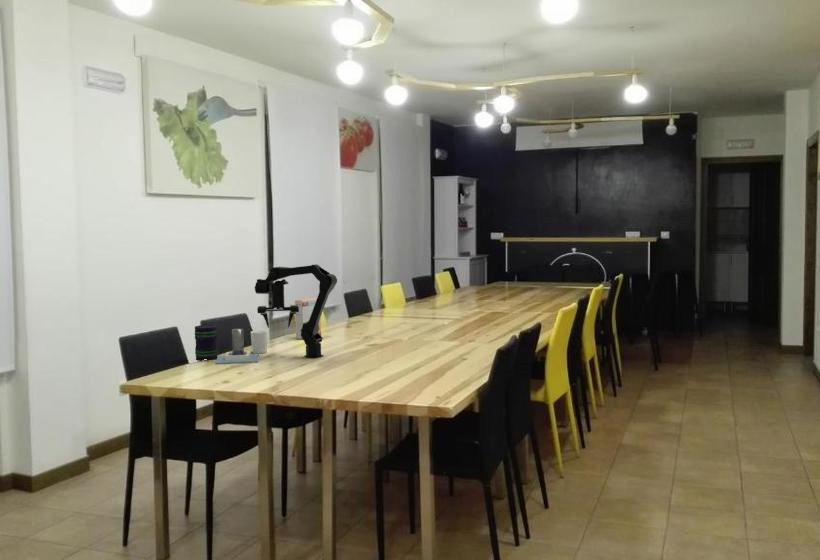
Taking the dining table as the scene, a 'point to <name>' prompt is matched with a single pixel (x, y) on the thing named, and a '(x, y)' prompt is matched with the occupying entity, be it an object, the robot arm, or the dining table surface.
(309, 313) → the cracker box
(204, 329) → the storage jar
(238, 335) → the shaft
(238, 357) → the blue square board
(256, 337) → the white cup
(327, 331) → the dining table surface
